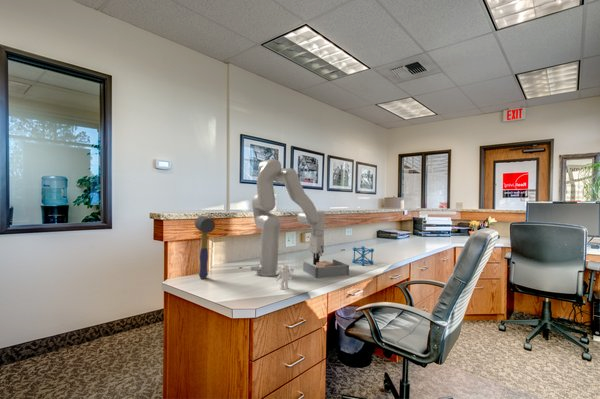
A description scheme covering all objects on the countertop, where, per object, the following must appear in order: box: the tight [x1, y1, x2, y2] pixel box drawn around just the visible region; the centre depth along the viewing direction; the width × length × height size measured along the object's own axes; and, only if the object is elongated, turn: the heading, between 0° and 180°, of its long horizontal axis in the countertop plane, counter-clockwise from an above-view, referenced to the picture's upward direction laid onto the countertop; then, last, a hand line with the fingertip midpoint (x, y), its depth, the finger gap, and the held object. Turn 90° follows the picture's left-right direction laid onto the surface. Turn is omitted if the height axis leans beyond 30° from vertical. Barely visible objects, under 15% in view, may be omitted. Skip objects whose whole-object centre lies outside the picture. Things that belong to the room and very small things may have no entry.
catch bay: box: [302, 258, 350, 279], centre depth 167 cm, size 20×15×5 cm
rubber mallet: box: [194, 216, 216, 279], centre depth 149 cm, size 12×8×30 cm, turn 33°
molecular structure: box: [351, 246, 375, 267], centre depth 193 cm, size 10×10×10 cm
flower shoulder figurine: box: [275, 263, 295, 291], centre depth 138 cm, size 9×4×12 cm, turn 128°
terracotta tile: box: [315, 260, 334, 268], centre depth 174 cm, size 7×7×4 cm
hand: (316, 264), depth 177 cm, fingers closed
